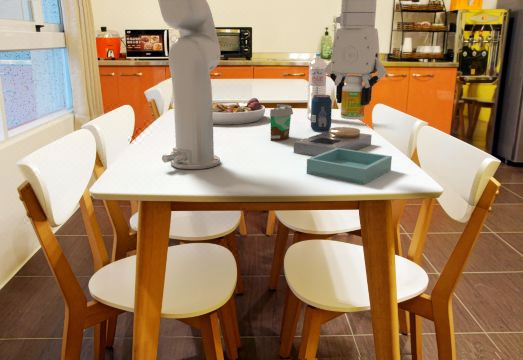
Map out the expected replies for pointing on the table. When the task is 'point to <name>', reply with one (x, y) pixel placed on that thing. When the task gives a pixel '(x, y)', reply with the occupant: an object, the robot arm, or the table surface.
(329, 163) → the tray
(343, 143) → the bracket
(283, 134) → the food container
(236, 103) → the bowl
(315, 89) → the water bottle
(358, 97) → the supplement bottle
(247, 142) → the table surface
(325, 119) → the soda can
